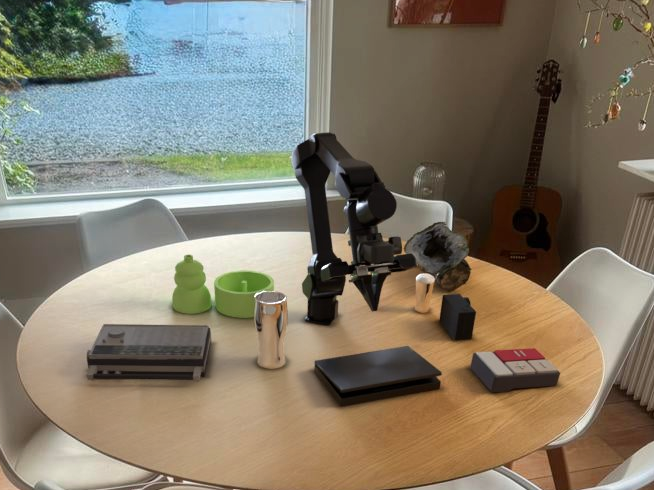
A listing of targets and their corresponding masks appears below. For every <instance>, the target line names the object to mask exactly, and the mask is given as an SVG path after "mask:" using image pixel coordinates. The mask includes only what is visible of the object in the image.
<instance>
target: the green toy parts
mask: <svg viewBox="0 0 654 490" xmlns="http://www.w3.org/2000/svg"><path fill="white" fill-rule="evenodd" d="M204 270H205V269H204V265H203V263H202V262H200V261H199V260H196V259H194V256H193V255H192V254H184V256H183V259H182V260H180V261H178V262H177V263H176V264H175V266H174V271H175V273H174V275H173V280H174V283H175V285H176V286H175V287H174V290H173V292H172V295H171V297H172V308H173V309H174V310H175V311H176V312H178V313H181V314H190V315H192V314H193V315H194V314H200V313H204V312H206V311H209V310H210V309H211V307H212V295H211V291H210V290H209V288H208V287H207V286H206V281H207V276H206V273H205V271H204ZM213 288H214V305H215V306H214V307H215V309H216V310H217V311H218V312H219V313H220V314H222V315H224V316H227V317H231V318H232V317H233V318H240V319H242V318H243V319H245V318H246V319H247V318H249V319H250V318H254V304H255V295H256V294H258V293H260V292H264V291H275V280H274V278H273V277H272V276H271V275H269V274H266V273H264V272H261V271H256V270H234V271H229V272H225V273H222V274H220V275H218V276H217V277H215V279H214V281H213Z"/></svg>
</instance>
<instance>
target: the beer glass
mask: <svg viewBox="0 0 654 490" xmlns="http://www.w3.org/2000/svg"><path fill="white" fill-rule="evenodd" d="M288 320H289V319H288V299H287V295H286V294H285V293H283V292H282V291H278V290H274V291H264V292H260V293H258V294H256V295H255V304H254V317H253V321H254V327H255V333H256V339H257V343H258V353H257V365H258V366H259V367H261V368H263V369H268V370H269V369H270V370H274V369H280V368H281V367H284V365H286V357H285V352H284V348H285V347H284V346H285V345H284V344H285V338H286V333H287V327H288Z"/></svg>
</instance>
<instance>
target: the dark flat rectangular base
mask: <svg viewBox="0 0 654 490" xmlns="http://www.w3.org/2000/svg"><path fill="white" fill-rule="evenodd" d="M313 369H314V371H313V372H314V373H315V374H316V376H317V377H318V378H319V380H320V381H321V382H322V383H323V385H324V386H325V387H326V389H327V391H328V392H329V393H330V394H331V395H332V397H333V398H334V399H335V401H336V402H337V403H338V405H339V406H340V407H343V408H344V407H347V406H353V405H359V404H364V403H368V402H375V401H381V400H386V399H391V398H399V397H402V396H408V395H413V394H419V393H424V392H431V391H436V390H440V389H441V384H442V383H441V382H442V381H441V380H440V379H439V378H438V376H435V377H430V378H424V379H418V380H413V381H407V382H401V383H396V384H390V385H384V386H378V387H373V388H367V389H361V390H356V391H350V392H344V393H342V392H341V391H340V390H339V389H338V388H337V387H336V386H335V385H334V384H333V383H332V382H331V381H330V380H329V378H328V377H327V376H326V375H325V374H324V373H323V372H322V371H321V370H320V369H319V368H318V367H317V366H316V365H315V364H314V367H313Z"/></svg>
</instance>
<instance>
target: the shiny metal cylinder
mask: <svg viewBox="0 0 654 490" xmlns="http://www.w3.org/2000/svg"><path fill="white" fill-rule="evenodd" d="M438 274H439V273H438ZM437 276H438V275H437ZM437 276H436V277H437ZM435 279H436V278H434V277H433V276H432V275H431V274H429V273H419V274H418V275H417V276H416V277H415V296H414V297H415V300H414V310H415V312H418V313H423V314H425V313H428V311H429V309H430V304H431V299H432V294H433V290H434V286H435V283H436V281H435Z"/></svg>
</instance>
